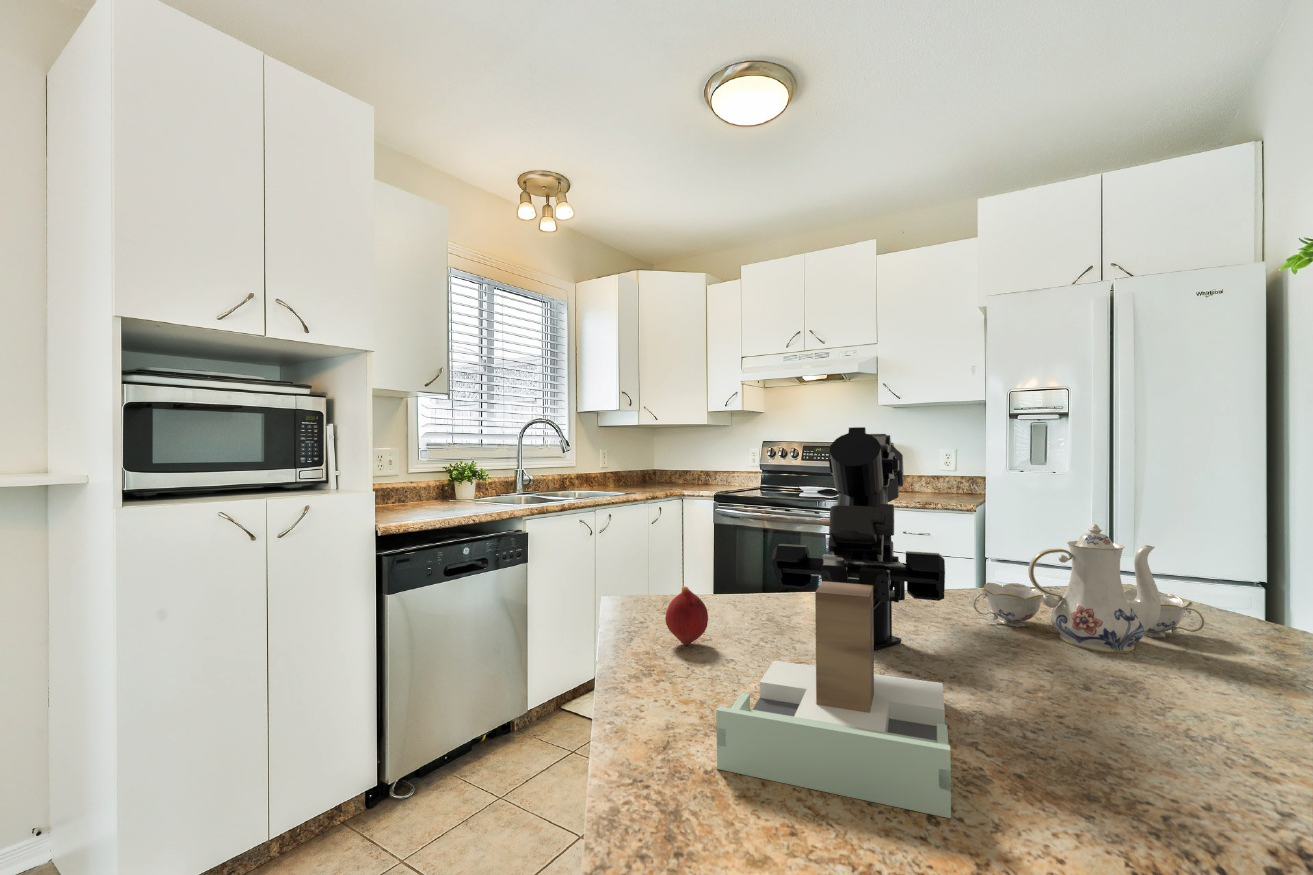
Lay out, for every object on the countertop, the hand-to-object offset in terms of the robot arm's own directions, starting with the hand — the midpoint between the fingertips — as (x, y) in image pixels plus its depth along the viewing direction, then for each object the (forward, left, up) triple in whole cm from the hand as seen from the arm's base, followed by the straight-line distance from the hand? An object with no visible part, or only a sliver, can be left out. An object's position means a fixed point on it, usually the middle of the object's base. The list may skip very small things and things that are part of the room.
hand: (850, 637), depth 67 cm
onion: (+5, -24, -7) cm, 26 cm away
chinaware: (-45, +2, -7) cm, 46 cm away
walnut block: (+4, +3, -5) cm, 7 cm away
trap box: (+7, +5, -7) cm, 11 cm away
